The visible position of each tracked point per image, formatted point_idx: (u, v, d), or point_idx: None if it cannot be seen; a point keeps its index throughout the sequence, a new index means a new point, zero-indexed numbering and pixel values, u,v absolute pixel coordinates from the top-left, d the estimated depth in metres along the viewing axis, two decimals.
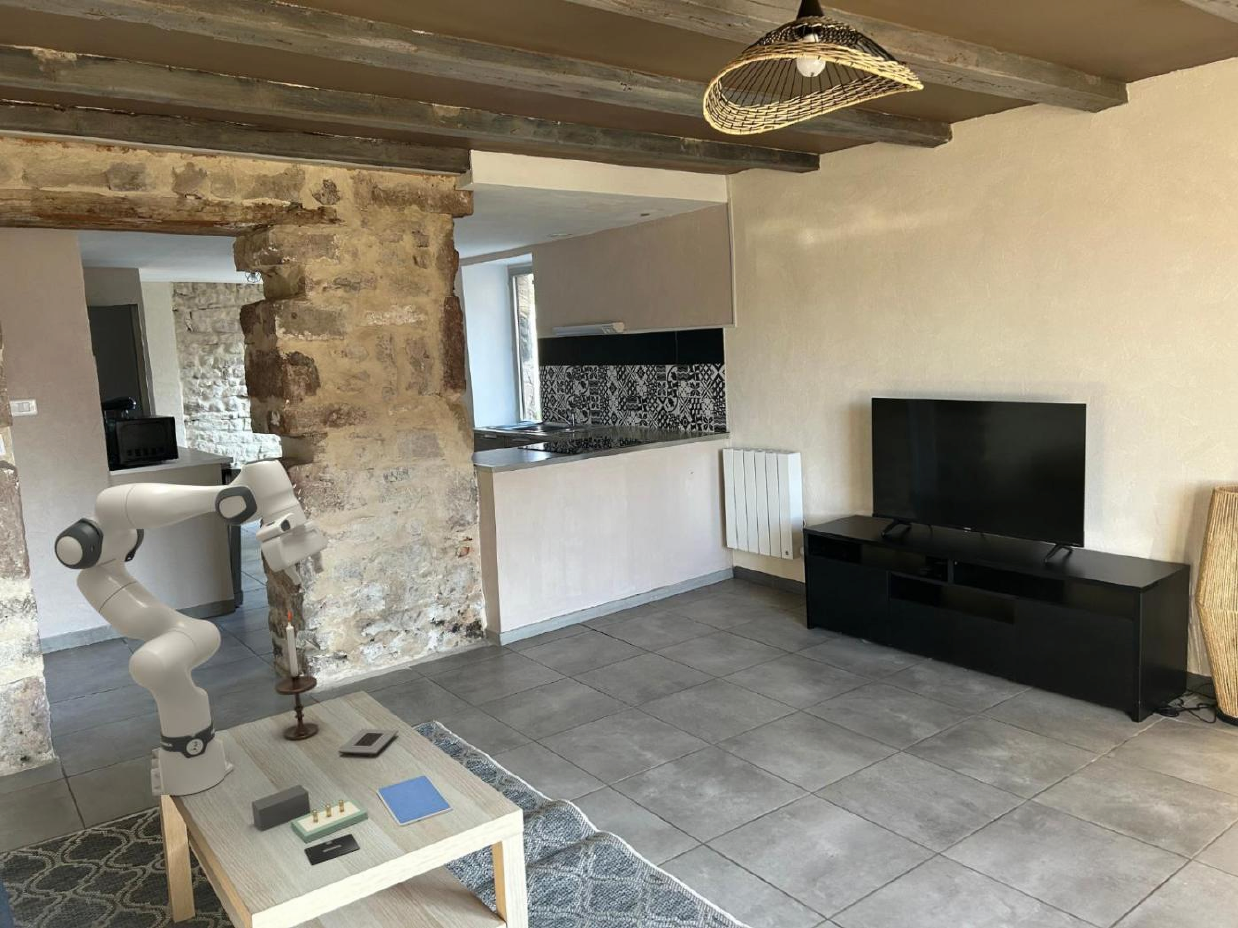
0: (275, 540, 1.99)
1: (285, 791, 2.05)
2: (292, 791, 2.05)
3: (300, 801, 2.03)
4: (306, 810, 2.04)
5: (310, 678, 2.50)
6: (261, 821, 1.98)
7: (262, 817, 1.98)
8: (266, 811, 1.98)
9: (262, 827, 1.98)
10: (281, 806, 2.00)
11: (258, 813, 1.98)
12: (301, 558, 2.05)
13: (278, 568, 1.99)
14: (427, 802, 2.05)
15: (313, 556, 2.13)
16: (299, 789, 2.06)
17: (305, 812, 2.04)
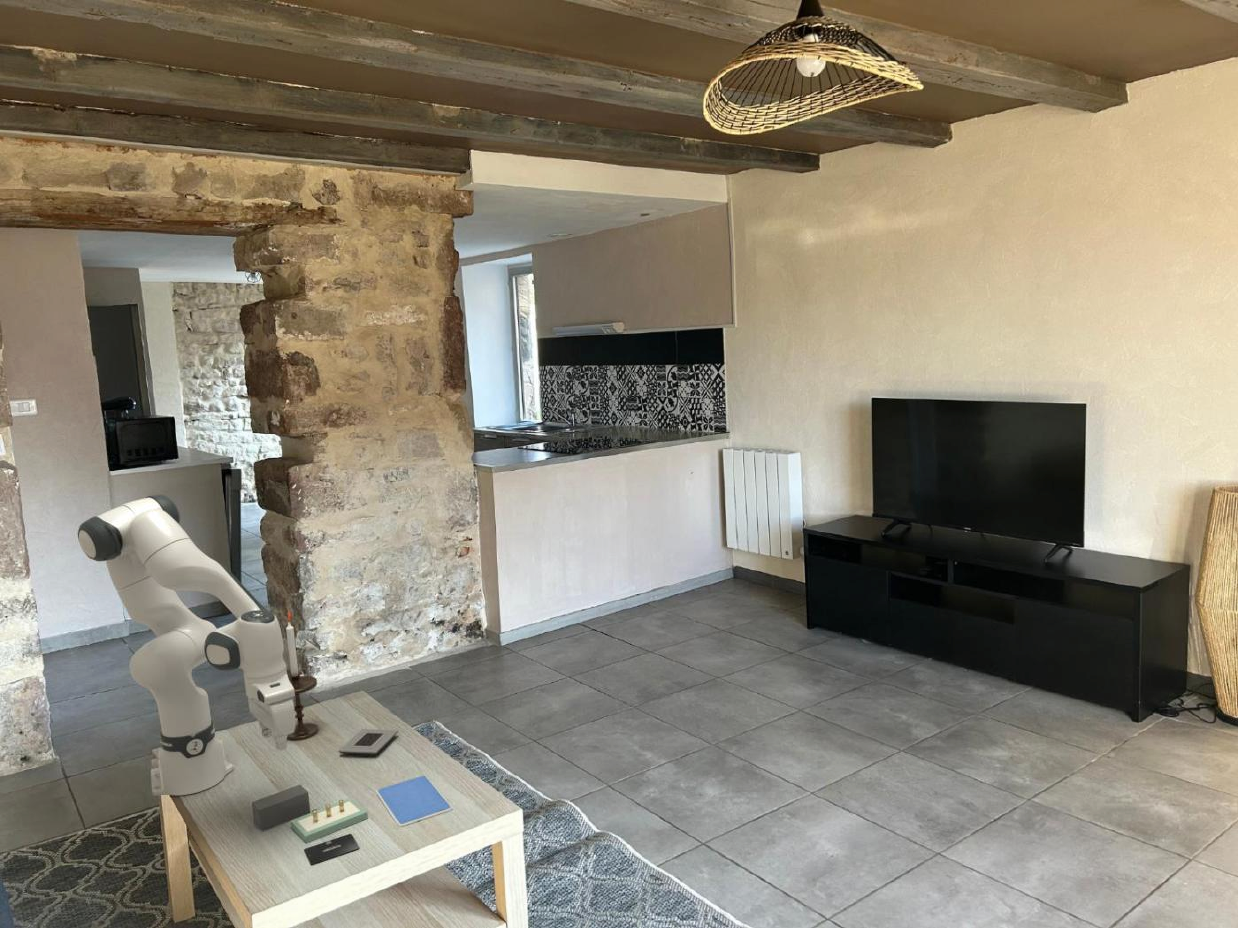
0: (289, 703, 1.93)
1: (285, 791, 2.05)
2: (292, 791, 2.05)
3: (300, 801, 2.03)
4: (306, 810, 2.04)
5: (310, 678, 2.50)
6: (261, 821, 1.98)
7: (262, 817, 1.98)
8: (266, 811, 1.98)
9: (262, 827, 1.98)
10: (281, 806, 2.00)
11: (258, 813, 1.98)
12: None
13: (287, 733, 1.92)
14: (426, 803, 2.05)
15: None
16: (299, 789, 2.06)
17: (305, 812, 2.04)
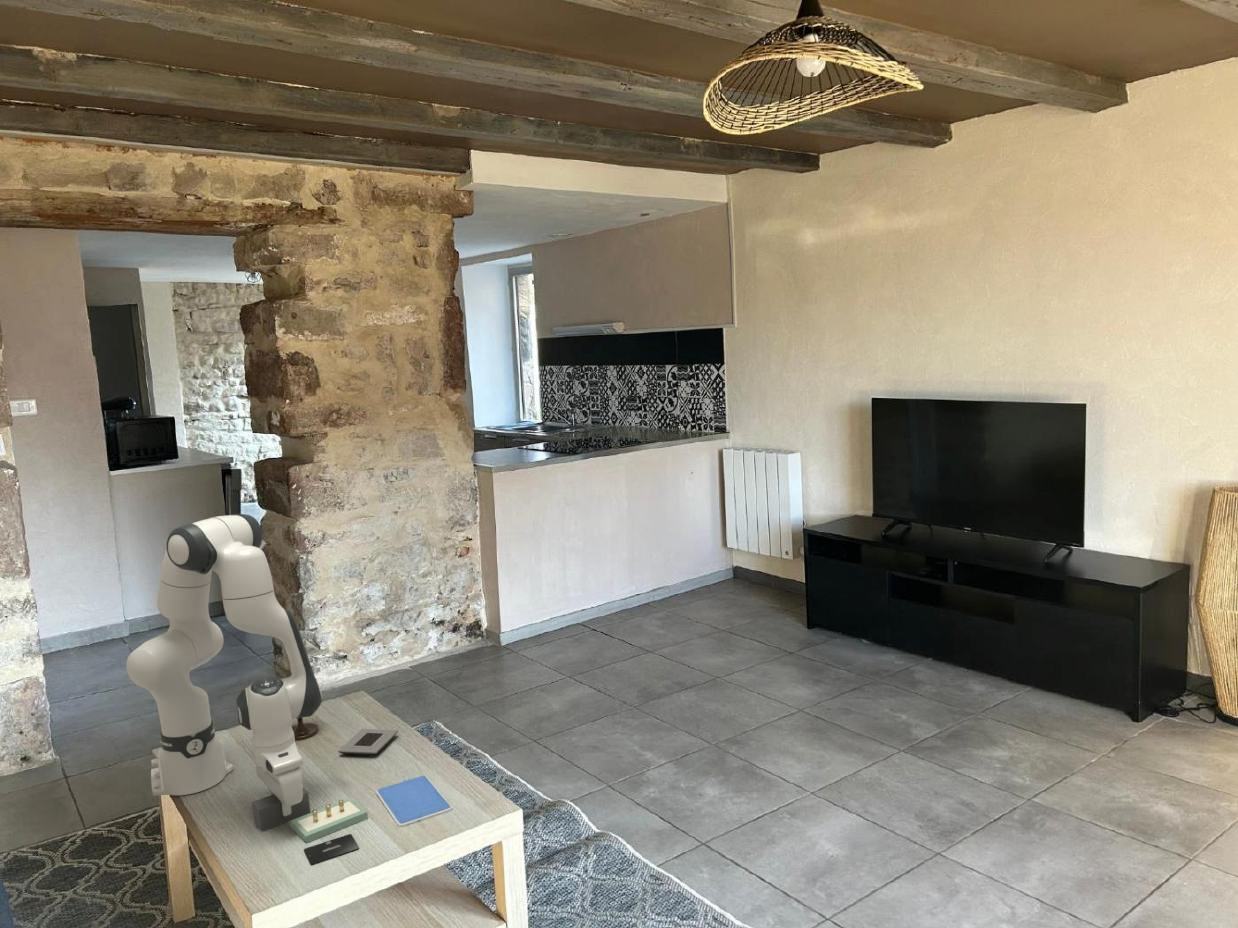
0: (297, 773, 1.95)
1: None
2: None
3: None
4: (306, 810, 2.04)
5: None
6: (261, 821, 1.98)
7: (262, 817, 1.98)
8: (266, 811, 1.98)
9: (262, 827, 1.98)
10: (281, 806, 2.00)
11: (258, 813, 1.98)
12: None
13: (294, 803, 1.95)
14: (426, 802, 2.05)
15: None
16: None
17: (305, 812, 2.04)
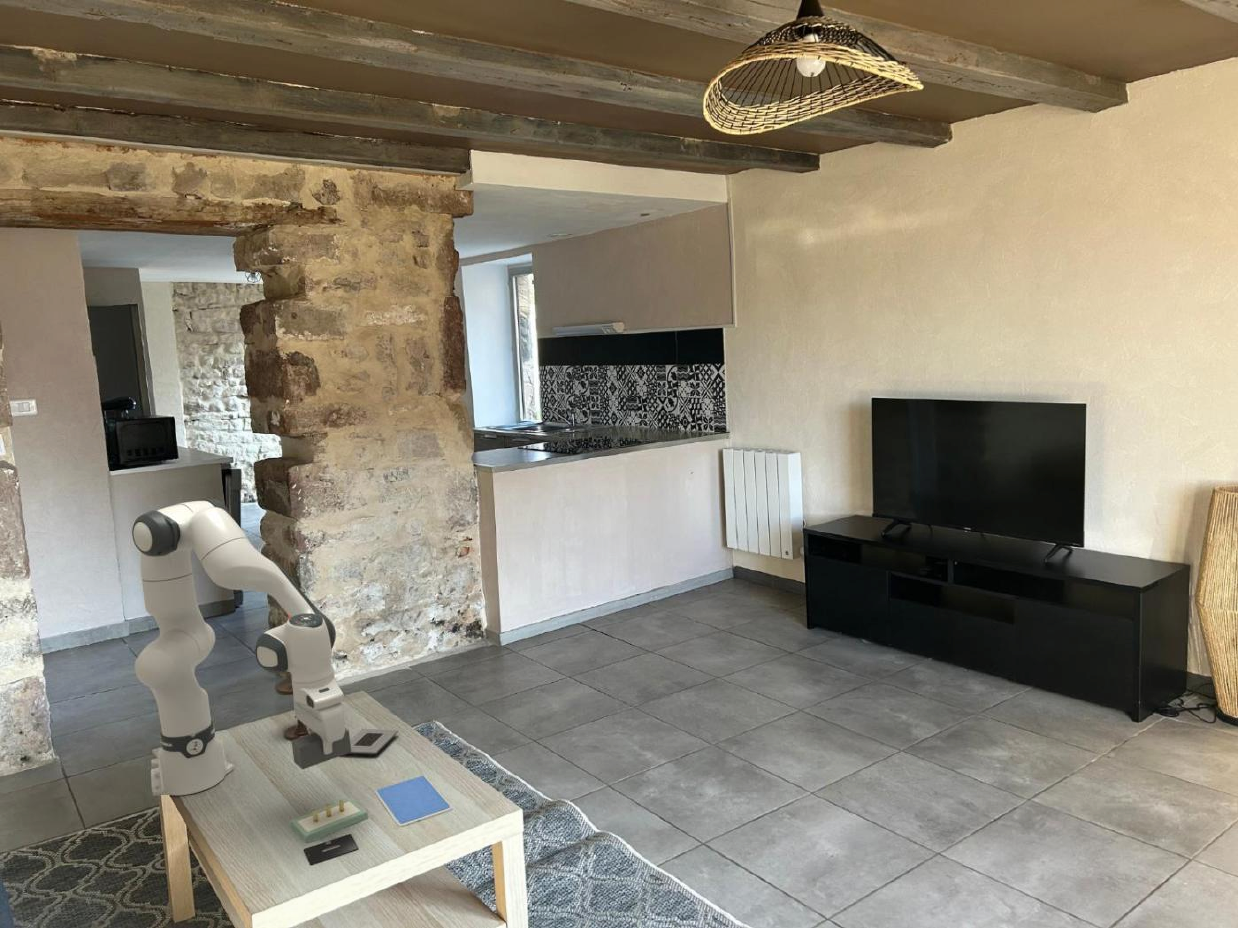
0: (339, 708, 1.90)
1: None
2: None
3: (341, 740, 1.98)
4: (347, 749, 1.99)
5: None
6: (302, 759, 1.92)
7: (303, 755, 1.92)
8: (307, 749, 1.93)
9: (303, 765, 1.92)
10: (322, 744, 1.95)
11: (299, 751, 1.92)
12: None
13: (336, 739, 1.89)
14: (426, 803, 2.05)
15: None
16: None
17: (346, 751, 1.98)
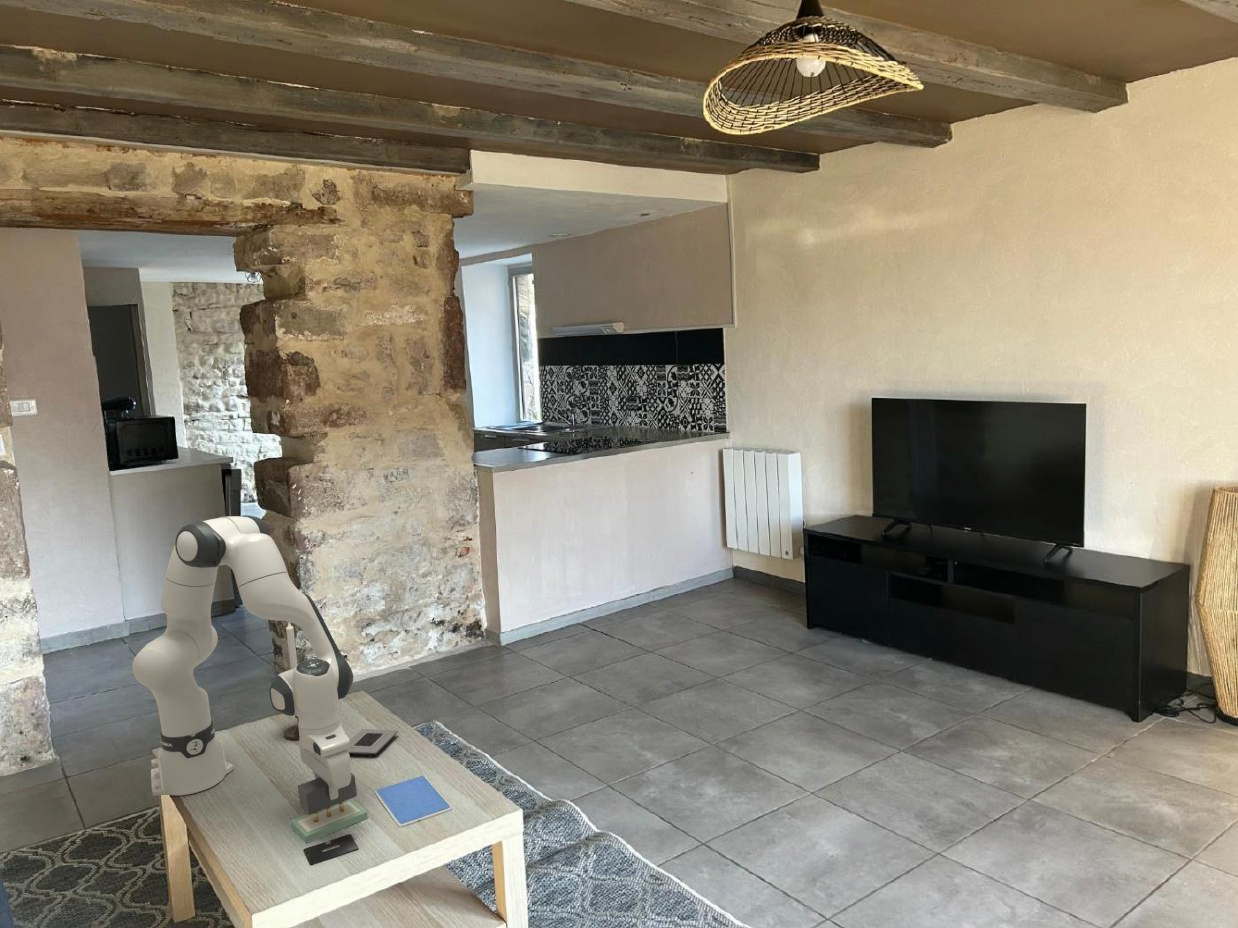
0: (345, 755, 1.92)
1: None
2: None
3: None
4: (353, 794, 2.00)
5: None
6: (308, 805, 1.94)
7: (309, 800, 1.94)
8: (313, 794, 1.94)
9: (309, 811, 1.94)
10: None
11: (305, 796, 1.94)
12: None
13: (343, 786, 1.91)
14: (426, 803, 2.05)
15: None
16: None
17: (352, 796, 2.00)
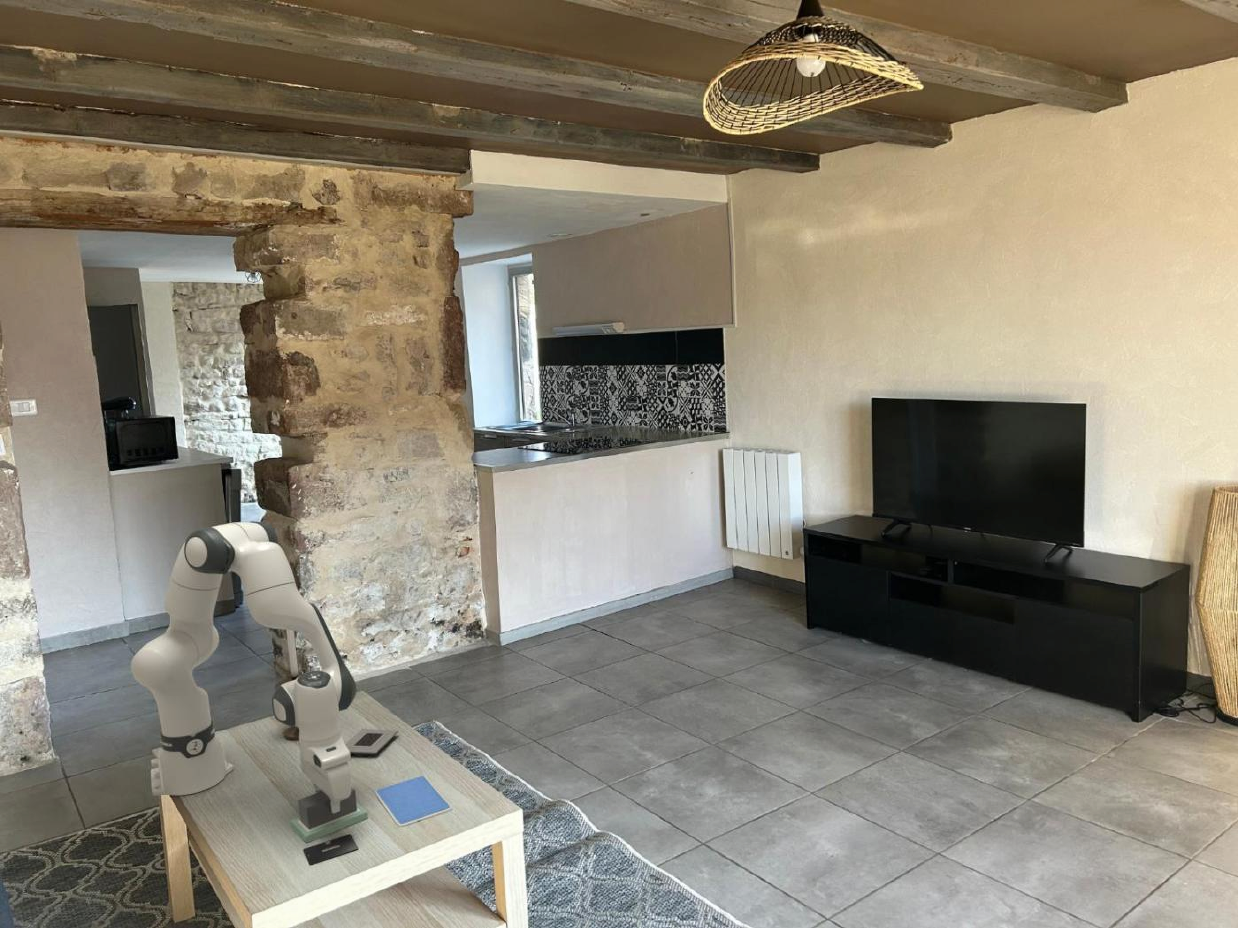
0: (346, 767, 1.92)
1: None
2: None
3: (347, 799, 2.00)
4: (353, 808, 2.01)
5: None
6: (308, 819, 1.94)
7: (309, 815, 1.94)
8: (313, 809, 1.95)
9: (309, 825, 1.94)
10: None
11: (305, 811, 1.94)
12: None
13: (343, 798, 1.91)
14: (426, 803, 2.05)
15: None
16: None
17: (352, 810, 2.00)
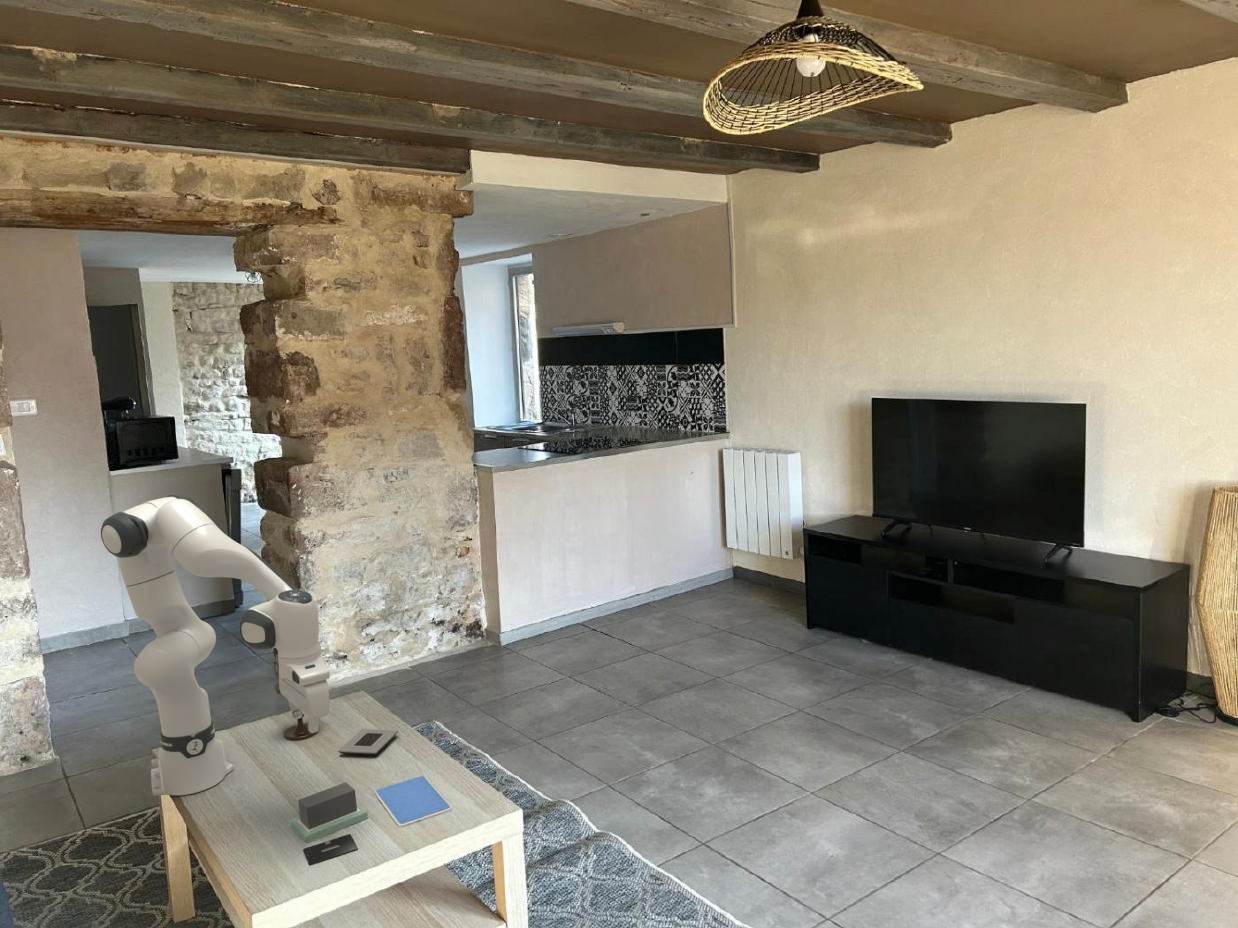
0: (324, 685, 1.91)
1: (331, 789, 2.01)
2: (338, 789, 2.01)
3: (347, 799, 2.00)
4: (353, 808, 2.01)
5: None
6: (308, 819, 1.94)
7: (309, 815, 1.94)
8: (313, 809, 1.95)
9: (309, 825, 1.94)
10: (329, 804, 1.97)
11: (305, 811, 1.94)
12: None
13: (320, 716, 1.90)
14: (426, 803, 2.05)
15: None
16: (345, 786, 2.02)
17: (352, 810, 2.00)
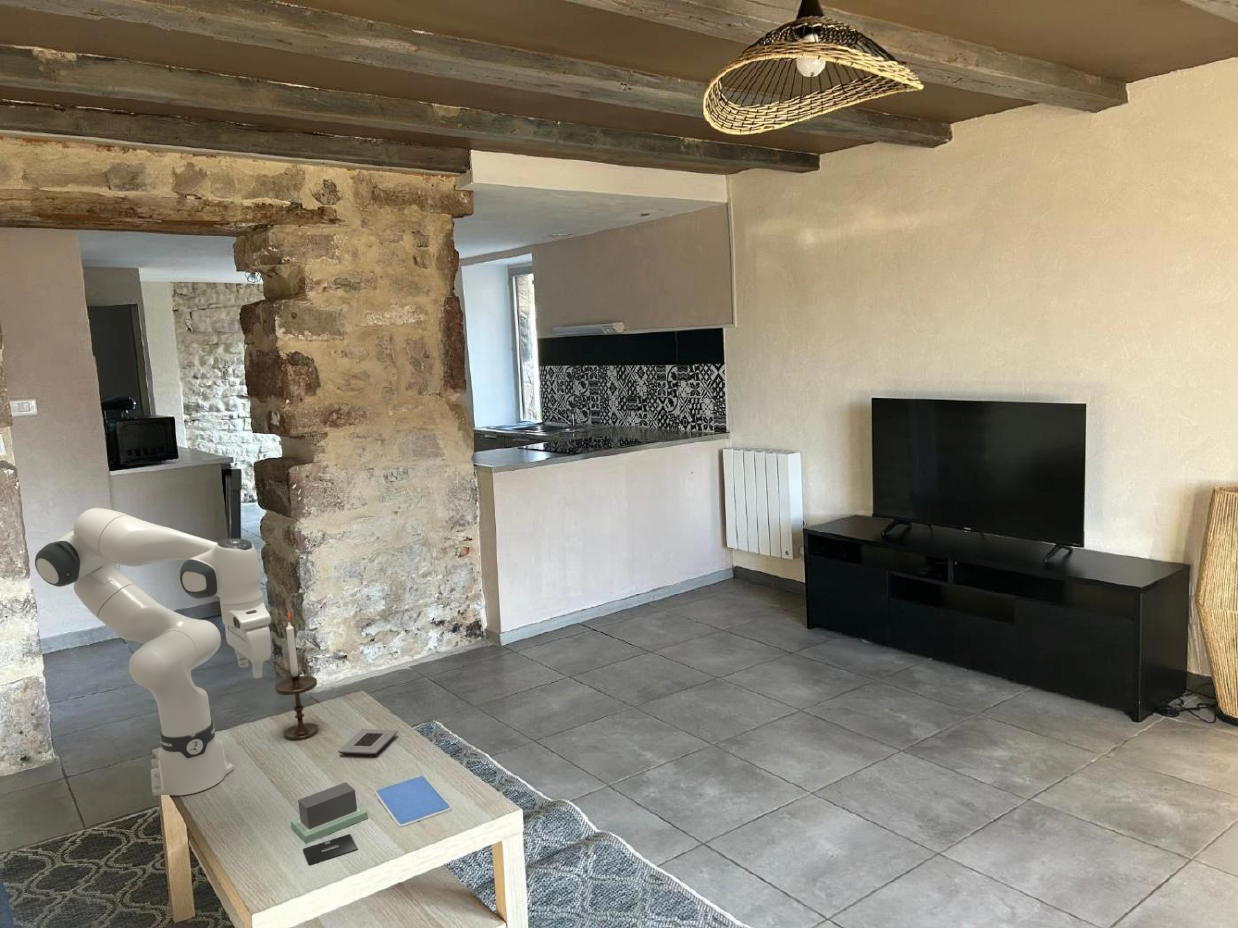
0: (265, 630, 1.93)
1: (331, 789, 2.01)
2: (338, 789, 2.01)
3: (347, 799, 2.00)
4: (353, 808, 2.01)
5: (310, 678, 2.50)
6: (308, 819, 1.94)
7: (309, 815, 1.94)
8: (313, 809, 1.95)
9: (309, 825, 1.94)
10: (329, 804, 1.97)
11: (305, 811, 1.94)
12: None
13: (262, 660, 1.92)
14: (426, 803, 2.05)
15: None
16: (345, 786, 2.02)
17: (352, 810, 2.00)
